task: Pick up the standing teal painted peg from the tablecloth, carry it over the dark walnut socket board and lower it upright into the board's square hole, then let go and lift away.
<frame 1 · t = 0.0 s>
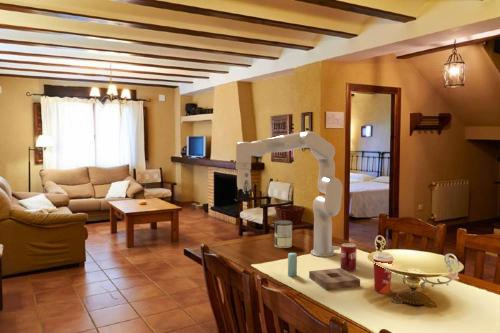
hand: (243, 200, 206), 31 cm above the table, tool pointing down, fingers open, 9 cm apart
coffee can: (283, 246, 239), on the table
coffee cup: (382, 291, 168), on the table
socket board: (333, 281, 178), on the table
peg: (292, 275, 186), on the table
soda can: (348, 270, 195), on the table
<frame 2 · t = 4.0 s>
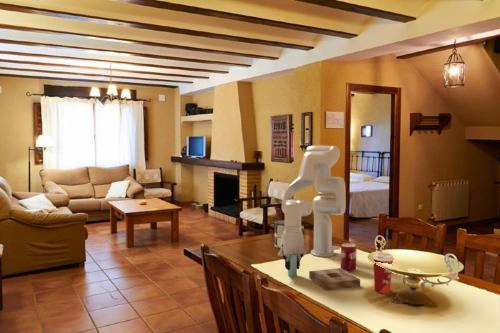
hand: (292, 268, 186), 3 cm above the table, tool pointing down, fingers closed on peg, 4 cm apart
peg: (292, 275, 186), on the table, touching gripper
everything else where it was.
when the fingers open (4 cm above the table, at t = 10.6 s): peg stays where it is, resting in socket board.
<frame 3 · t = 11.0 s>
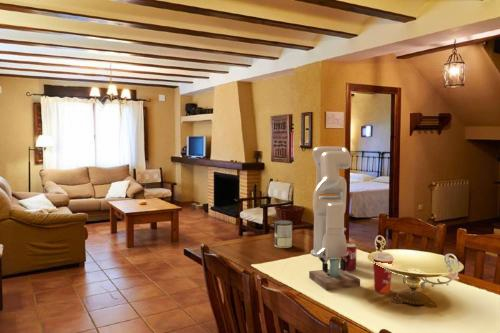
hand: (334, 270, 178), 5 cm above the table, tool pointing down, fingers open, 8 cm apart
peg: (333, 281, 178), resting in socket board
everything else where it was.
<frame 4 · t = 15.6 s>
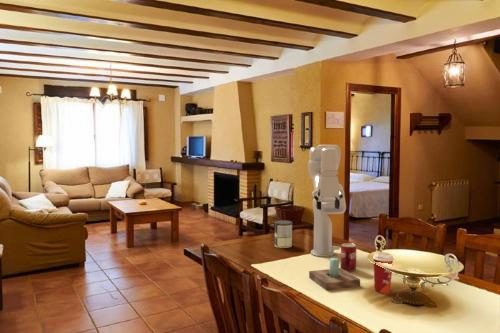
hand: (328, 208, 199), 28 cm above the table, tool pointing down, fingers open, 9 cm apart
nothing on the table moved.
at the end: peg 0.0 cm off-centre on the socket board, point 0.0 cm above the socket board's base; peg tilted 0°; the gripper is holding nothing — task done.
